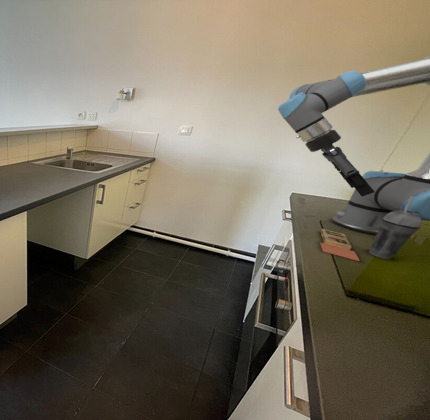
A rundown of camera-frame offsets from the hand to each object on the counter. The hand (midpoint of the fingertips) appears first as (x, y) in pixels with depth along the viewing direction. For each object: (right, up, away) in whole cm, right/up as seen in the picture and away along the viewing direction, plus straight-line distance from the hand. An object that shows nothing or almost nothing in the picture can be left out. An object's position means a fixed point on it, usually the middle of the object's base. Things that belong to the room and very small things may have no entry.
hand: (362, 189), depth 78 cm
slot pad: (-5, -20, +2) cm, 21 cm away
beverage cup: (+7, -21, +1) cm, 22 cm away
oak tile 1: (+4, -17, +12) cm, 21 cm away
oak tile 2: (-1, -18, +7) cm, 20 cm away
